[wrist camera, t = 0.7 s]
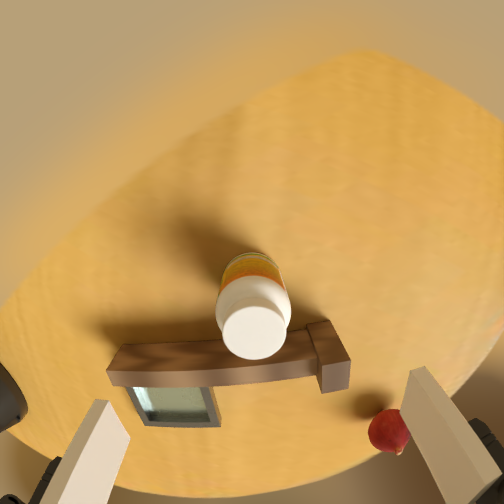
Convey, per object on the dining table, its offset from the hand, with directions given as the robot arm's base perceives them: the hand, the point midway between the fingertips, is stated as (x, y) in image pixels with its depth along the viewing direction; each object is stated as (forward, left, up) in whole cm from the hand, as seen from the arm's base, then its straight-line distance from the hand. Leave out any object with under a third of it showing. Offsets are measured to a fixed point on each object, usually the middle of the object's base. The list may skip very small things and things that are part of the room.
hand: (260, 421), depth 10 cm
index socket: (-11, -13, -17) cm, 24 cm away
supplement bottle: (0, 0, -17) cm, 17 cm away
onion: (+15, -22, -17) cm, 31 cm away
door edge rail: (-5, -7, -17) cm, 19 cm away
